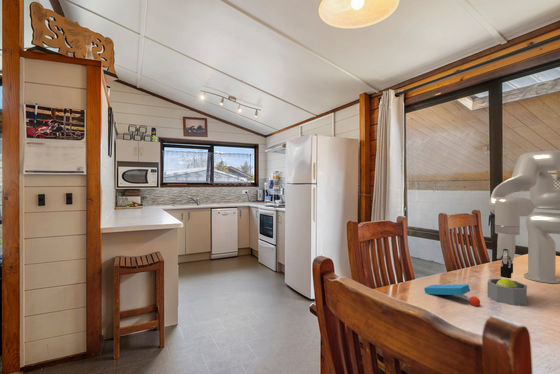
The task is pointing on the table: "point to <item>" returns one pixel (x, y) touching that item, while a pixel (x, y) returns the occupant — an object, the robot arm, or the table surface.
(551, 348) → the table surface
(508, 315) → the table surface
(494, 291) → the gray octagonal bowl
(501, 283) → the tennis ball
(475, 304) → the lever
